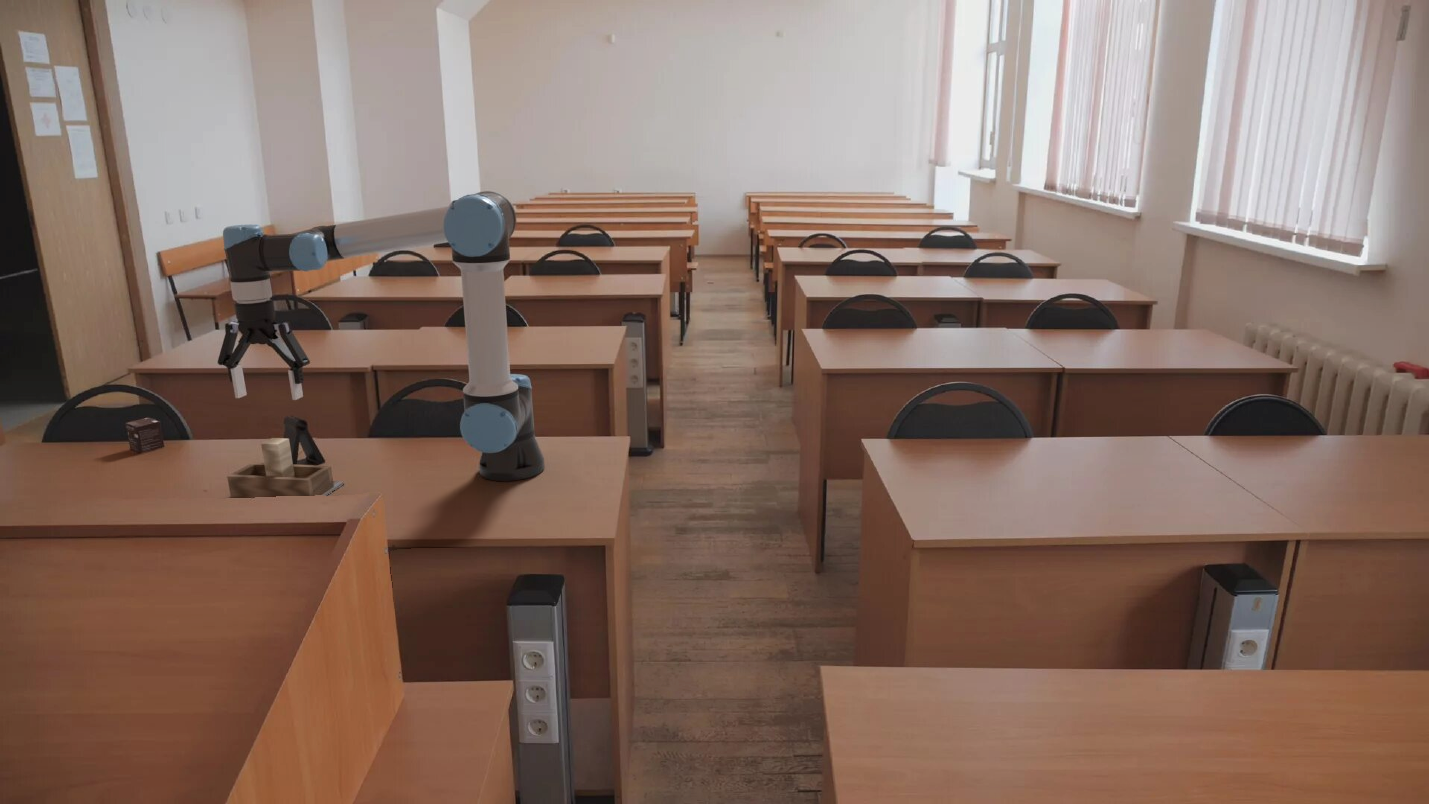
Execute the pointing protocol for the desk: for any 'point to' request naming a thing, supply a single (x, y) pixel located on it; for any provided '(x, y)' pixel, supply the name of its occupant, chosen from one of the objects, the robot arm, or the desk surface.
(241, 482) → the wooden tray
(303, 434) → the black phone stand
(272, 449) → the birch block
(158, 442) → the box
